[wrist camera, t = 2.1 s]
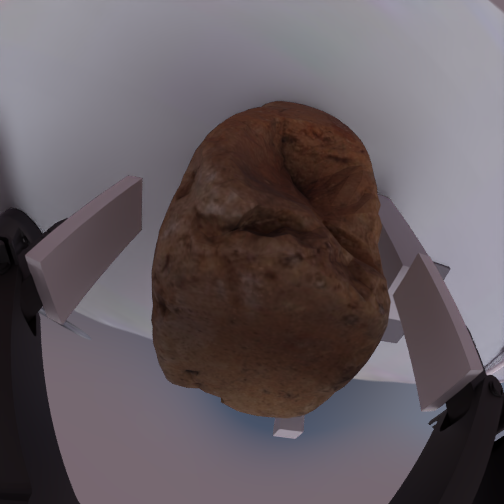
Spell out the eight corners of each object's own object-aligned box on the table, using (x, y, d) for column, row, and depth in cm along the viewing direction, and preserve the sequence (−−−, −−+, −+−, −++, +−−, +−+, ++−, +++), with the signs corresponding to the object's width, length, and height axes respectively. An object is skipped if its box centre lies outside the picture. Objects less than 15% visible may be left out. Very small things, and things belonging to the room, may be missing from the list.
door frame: (280, 363, 39) (272, 435, 30) (362, 188, 24) (403, 265, 14) (299, 366, 39) (295, 438, 30) (389, 198, 24) (440, 276, 14)
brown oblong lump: (305, 223, 27) (303, 437, 10) (230, 200, 26) (135, 393, 10) (345, 117, 21) (494, 233, 4) (260, 89, 20) (122, 100, 4)
